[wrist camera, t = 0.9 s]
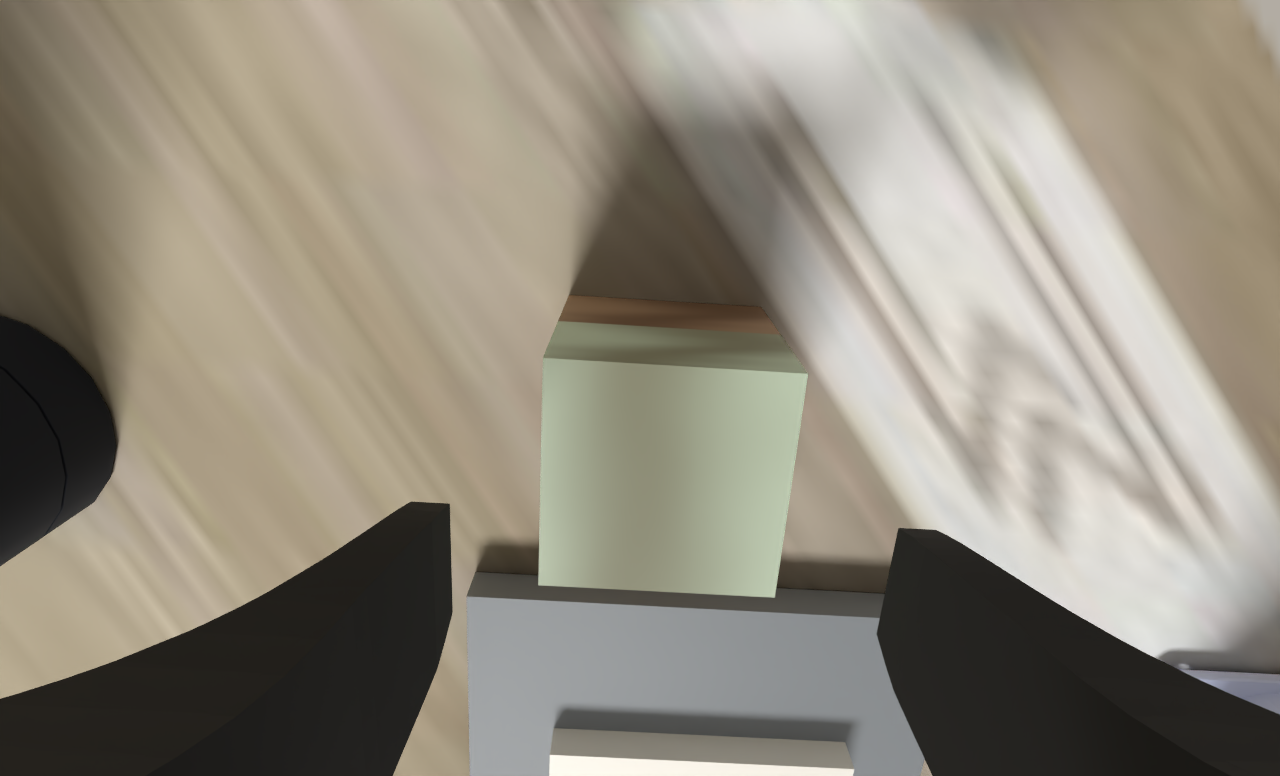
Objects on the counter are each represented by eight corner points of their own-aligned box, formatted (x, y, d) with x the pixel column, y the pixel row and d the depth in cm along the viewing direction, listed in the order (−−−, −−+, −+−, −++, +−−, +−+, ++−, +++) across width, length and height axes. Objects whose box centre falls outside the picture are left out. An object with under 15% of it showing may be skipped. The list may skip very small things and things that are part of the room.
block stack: (760, 306, 19) (807, 373, 14) (739, 478, 21) (774, 597, 15) (569, 294, 19) (543, 358, 14) (563, 468, 21) (538, 585, 15)
